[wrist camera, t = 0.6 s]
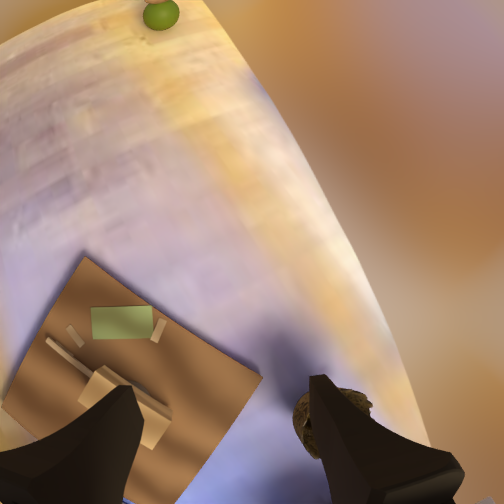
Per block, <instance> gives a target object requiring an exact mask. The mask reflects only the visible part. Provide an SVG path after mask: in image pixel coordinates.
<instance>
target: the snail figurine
mask: <svg viewBox="0 0 504 504" xmlns="http://www.w3.org/2000/svg"><path fill="white" fill-rule="evenodd" d="M144 1H145V2H147V3H149V4H148V5H147V6H146V8H145V10H144V13H143V19H144V22H145V24H146V25H147V26H148V27H149V28H151V29H153V30H166V29H168V28H170V27H172V26H173V25H174V24H175V23H176V22H177V20H178V18H179V13H180V12H179V7H178V5H177V4H176V3H175V2H174V1H172V0H144Z"/></svg>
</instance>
